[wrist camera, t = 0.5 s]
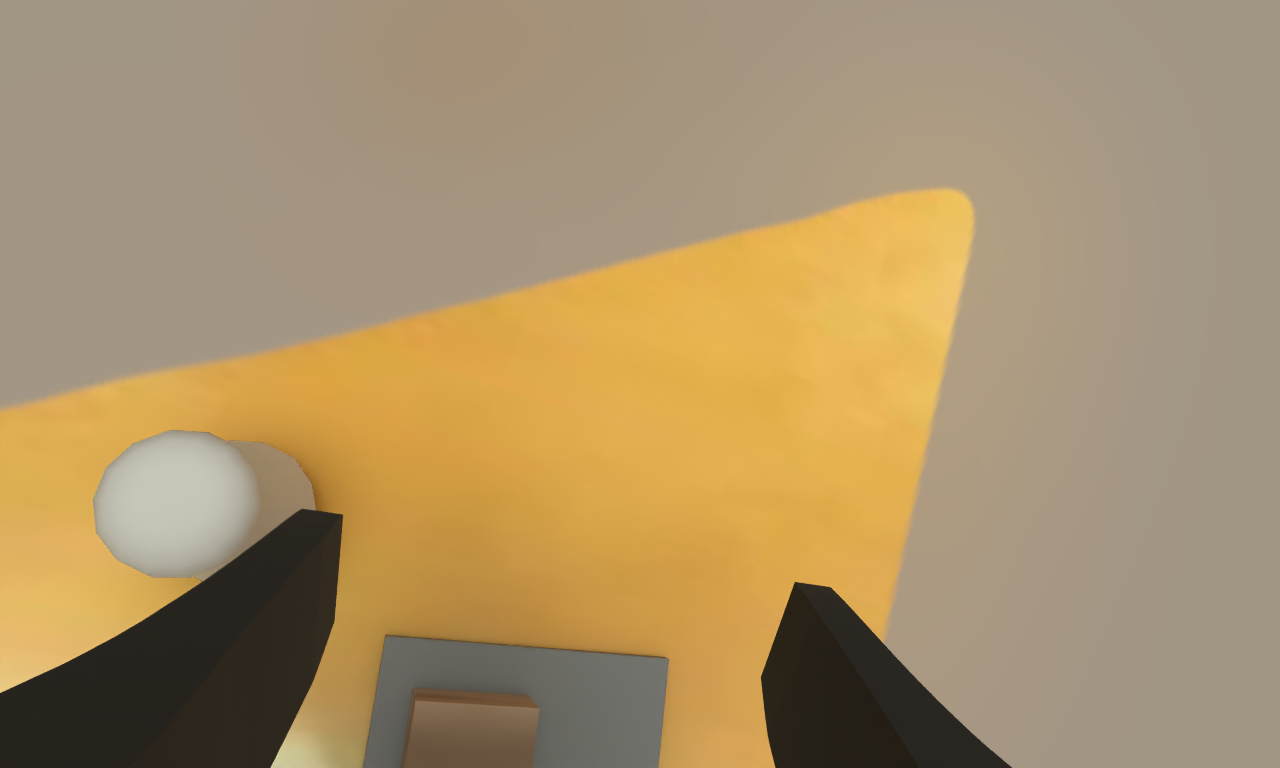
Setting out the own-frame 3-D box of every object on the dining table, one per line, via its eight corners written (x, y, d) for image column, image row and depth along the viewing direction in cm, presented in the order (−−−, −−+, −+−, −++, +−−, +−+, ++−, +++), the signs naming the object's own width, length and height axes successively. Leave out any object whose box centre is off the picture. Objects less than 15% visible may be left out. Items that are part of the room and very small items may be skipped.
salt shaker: (346, 486, 36) (325, 462, 24) (273, 606, 34) (210, 645, 22) (223, 422, 35) (135, 362, 23) (141, 542, 33) (-1, 547, 21)
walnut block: (511, 816, 35) (522, 840, 32) (393, 813, 34) (393, 838, 31) (527, 694, 36) (539, 708, 33) (413, 687, 35) (415, 700, 32)
